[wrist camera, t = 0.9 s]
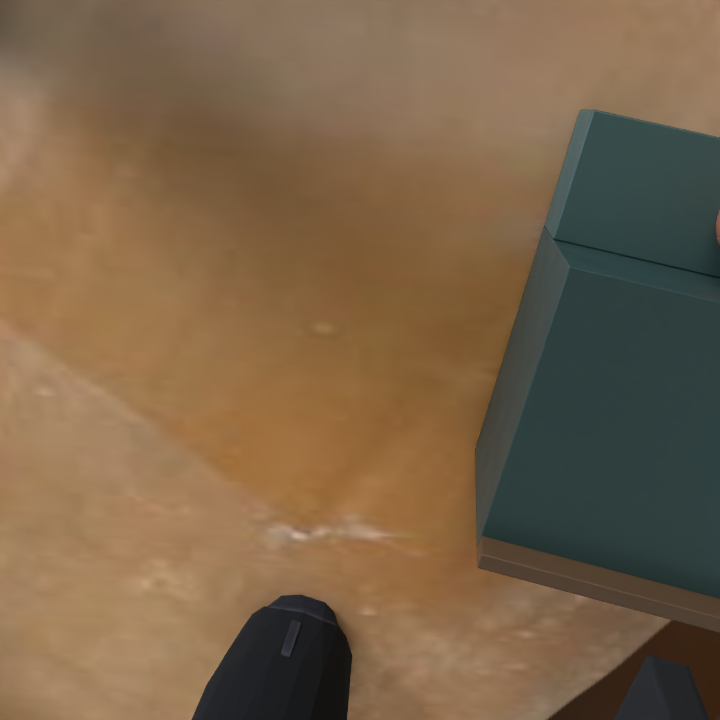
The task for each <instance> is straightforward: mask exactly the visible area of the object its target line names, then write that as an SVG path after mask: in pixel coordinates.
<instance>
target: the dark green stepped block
mask: <svg viewBox="0 0 720 720" xmlns="http://www.w3.org/2000/svg"><path fill="white" fill-rule="evenodd" d="M719 210H720V137H716V136H711V135H707V134H702V133H698V132H693V131H688V130H684V129H679V128H675V127H670V126H666V125H661V124H657V123H652V122H647V121H643V120H638V119H634V118H629V117H625V116H620V115H616V114H611V113H607V112H602V111H597V110H580V112H579V115H578V118H577V122H576V125H575V128H574V131H573V135H572V138H571V141H570V144H569V147H568V151H567V154H566V157H565V160H564V164H563V167H562V170H561V173H560V177H559V180H558V183H557V186H556V190H555V193H554V196H553V199H552V203H551V206H550V209H549V212H548V216H547V219H546V222H545V227H544V228H543V231H542V235H541V238H540V241H539V244H538V248H537V251H536V254H535V257H534V261H533V264H532V267H531V270H530V274H529V277H528V280H527V283H526V287H525V290H524V293H523V296H522V300H521V303H520V306H519V309H518V313H517V316H516V319H515V322H514V326H513V329H512V332H511V335H510V339H509V342H508V345H507V348H506V352H505V355H504V358H503V361H502V364H501V368H500V371H499V374H498V377H497V381H496V384H495V387H494V390H493V394H492V397H491V400H490V403H489V407H488V410H487V413H486V416H485V420H484V423H483V426H482V429H481V433H480V436H479V439H478V442H477V446H476V449H475V468H476V523H477V566H478V568H480V569H484V570H488V571H492V572H495V573H499V574H503V575H507V576H510V577H514V578H518V579H522V580H525V581H529V582H533V583H536V584H540V585H544V586H548V587H551V588H555V589H559V590H563V591H566V592H570V593H574V594H578V595H581V596H585V597H589V598H592V599H596V600H600V601H604V602H607V603H611V604H615V605H619V606H622V607H626V608H630V609H634V610H637V611H641V612H645V613H648V614H652V615H656V616H660V617H663V618H667V619H671V620H675V621H679V622H683V623H686V624H690V625H693V626H697V627H701V628H705V629H708V630H712V631H716V632H719V633H720V245H719V243H718V240H717V236H716V221H717V216H718V213H719Z"/></svg>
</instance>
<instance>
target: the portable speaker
mask: <svg viewBox="0 0 720 720" xmlns="http://www.w3.org/2000/svg"><path fill="white" fill-rule="evenodd" d="M351 663H352V654H351V651H350V647H349V644H348V641H347V638H346V636H345V634H344V633H343V632H342V630H341V629H340V627H339V626H338V624H337V621H336V618H335V615H334V612H333V611H332V610H331V609H330V608H329V606H328V605H327V604H326V603H324V602H321V601H318V600H315V599H312V598H309V597H306V596H303V595H290V596H281V597H280V598H278V599H277V600H276V601H274V602H273V603H272V604H271V605H269V606H267V607H263V608H261V609H260V610H258V611H257V612H255V613H254V614H252V616H251V617H250V618H249V620H248V621H247V623H246V624H245V625H244V627H243V628H242V630H241V631H240V633H239V635H238V636H237V638H236V639H235V641H234V642H233V644H232V646H231V647H230V649H229V650H228V652H227V653H226V655H225V657H224V658H223V660H222V661H221V663H220V665H219V666H218V668H217V669H216V671H215V673H214V674H213V676H212V677H211V679H210V681H209V682H208V684H207V686H206V688H205V690H204V692H203V695H202V697H201V699H200V702H199V704H198V706H197V709H196V711H195V713H194V716H193V718H192V720H347V711H348V699H349V687H350V675H351Z"/></svg>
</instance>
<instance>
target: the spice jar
mask: <svg viewBox="0 0 720 720" xmlns="http://www.w3.org/2000/svg"><path fill="white" fill-rule="evenodd" d="M716 236H717V240H718V243H719V245H720V210H719V213H718V216H717V221H716Z"/></svg>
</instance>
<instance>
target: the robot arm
mask: <svg viewBox="0 0 720 720" xmlns="http://www.w3.org/2000/svg"><path fill="white" fill-rule="evenodd" d="M614 720H709V718H708V715H707V713H706V710H705V707H704V705H703V703H702V700H701V697H700V695H699V692H698V690H697V687H696V684H695V682H694V679H693V677H692V674H691V671H690V669H689V667H688V666H686V665H682V664H679V663H675V662H672V661H668V660H665V659H662V658H658V657H655V656H651V655H647V657H646V659H645V661H644V662H643V664H642V667H641V668H640V670H639V672H638V674H637V676H636V678H635V680H634V682H633V684H632V686H631V688H630V689H629V691H628V693H627V695H626V697H625V699H624V701H623V703H622V705H621V707H620V708H619V710H618V713H617V714H616V716H615V718H614Z"/></svg>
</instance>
